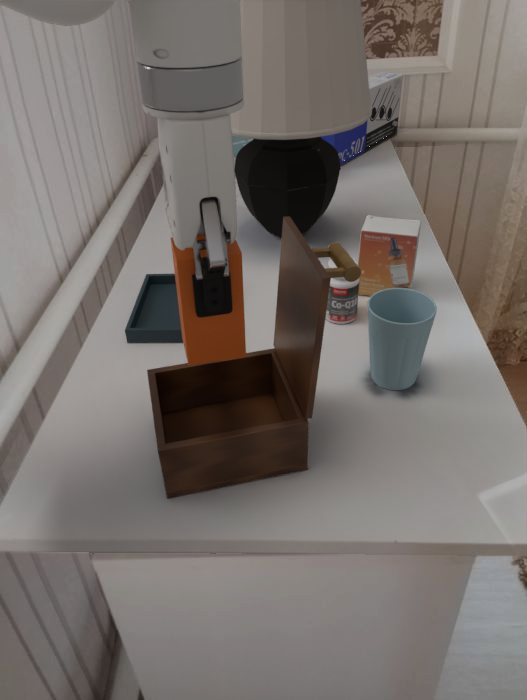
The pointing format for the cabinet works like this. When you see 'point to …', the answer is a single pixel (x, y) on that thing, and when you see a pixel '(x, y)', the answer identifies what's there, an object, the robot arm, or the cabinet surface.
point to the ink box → (372, 118)
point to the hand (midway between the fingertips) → (209, 296)
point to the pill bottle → (342, 299)
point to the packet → (214, 331)
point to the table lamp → (297, 104)
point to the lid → (305, 308)
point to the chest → (226, 423)
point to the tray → (155, 312)
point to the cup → (398, 335)
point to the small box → (387, 253)
